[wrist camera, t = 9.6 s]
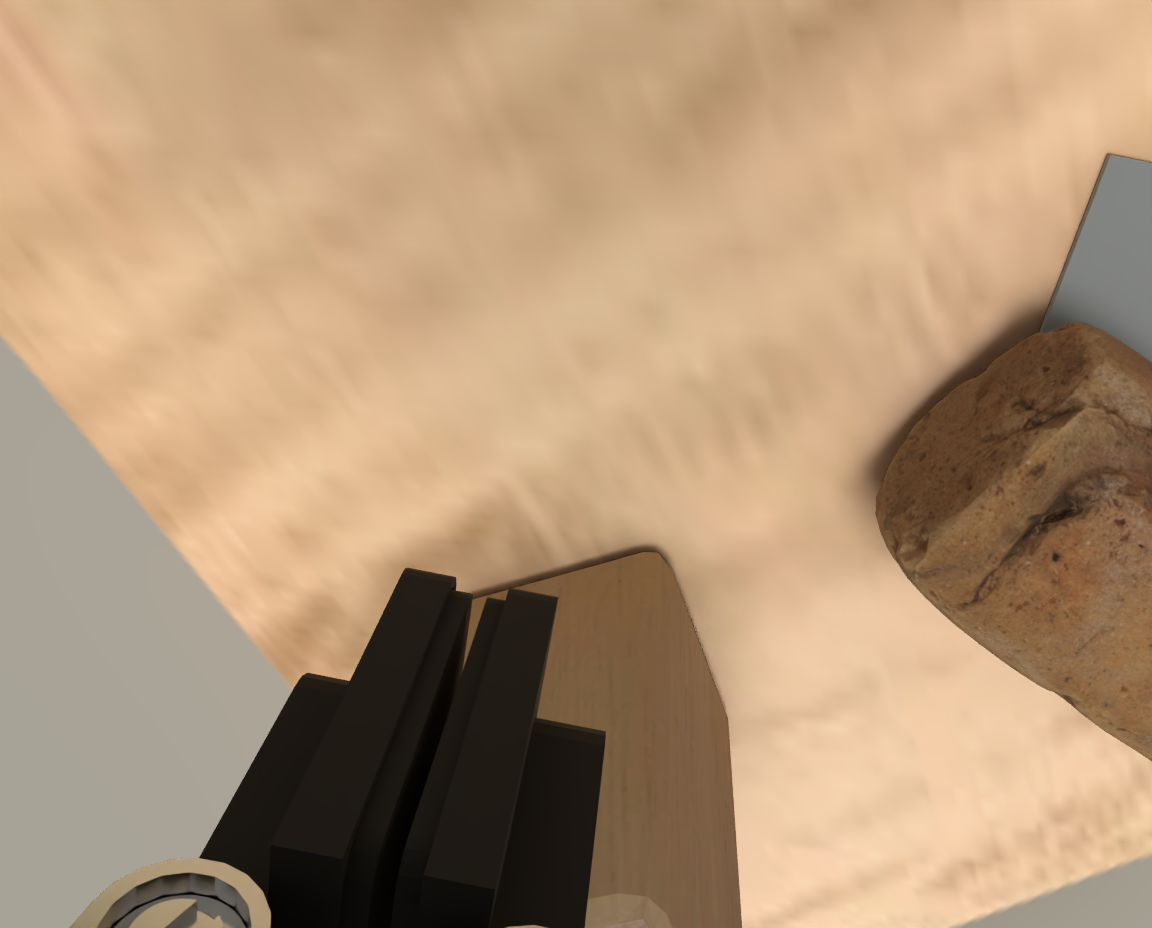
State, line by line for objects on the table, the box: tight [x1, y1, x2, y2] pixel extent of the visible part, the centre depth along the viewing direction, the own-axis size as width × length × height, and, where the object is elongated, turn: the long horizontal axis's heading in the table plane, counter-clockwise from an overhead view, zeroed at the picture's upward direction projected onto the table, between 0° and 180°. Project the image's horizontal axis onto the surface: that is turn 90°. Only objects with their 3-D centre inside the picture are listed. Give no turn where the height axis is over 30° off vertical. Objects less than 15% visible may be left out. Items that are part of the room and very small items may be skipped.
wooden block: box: [463, 552, 742, 928], centre depth 38 cm, size 10×10×20 cm
